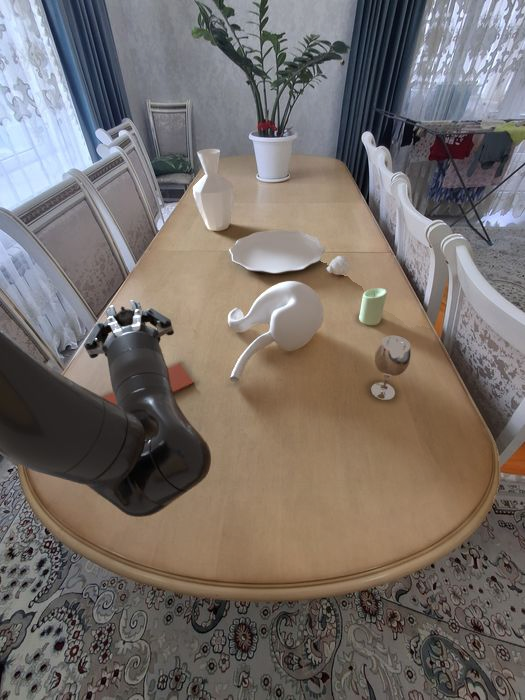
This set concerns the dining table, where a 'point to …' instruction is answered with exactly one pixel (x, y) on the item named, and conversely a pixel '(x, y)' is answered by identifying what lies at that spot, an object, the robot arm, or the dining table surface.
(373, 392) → the wineglass
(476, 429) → the dining table surface
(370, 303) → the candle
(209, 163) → the vase
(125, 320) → the chess piece
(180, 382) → the rectangular block
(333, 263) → the garlic bulb
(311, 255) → the plate
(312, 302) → the stomach
